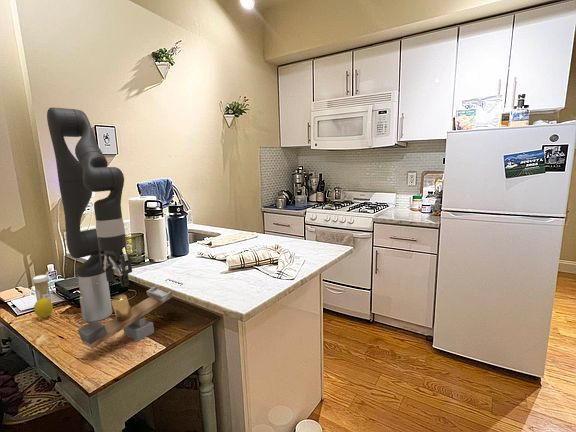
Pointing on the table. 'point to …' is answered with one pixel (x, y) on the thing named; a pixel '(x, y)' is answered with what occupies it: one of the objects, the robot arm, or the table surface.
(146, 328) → the beam stand
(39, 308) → the lemon
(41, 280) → the sprinkles bottle
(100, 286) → the robot arm
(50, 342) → the table surface
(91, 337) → the seesaw
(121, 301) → the brass weight
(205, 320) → the table surface
